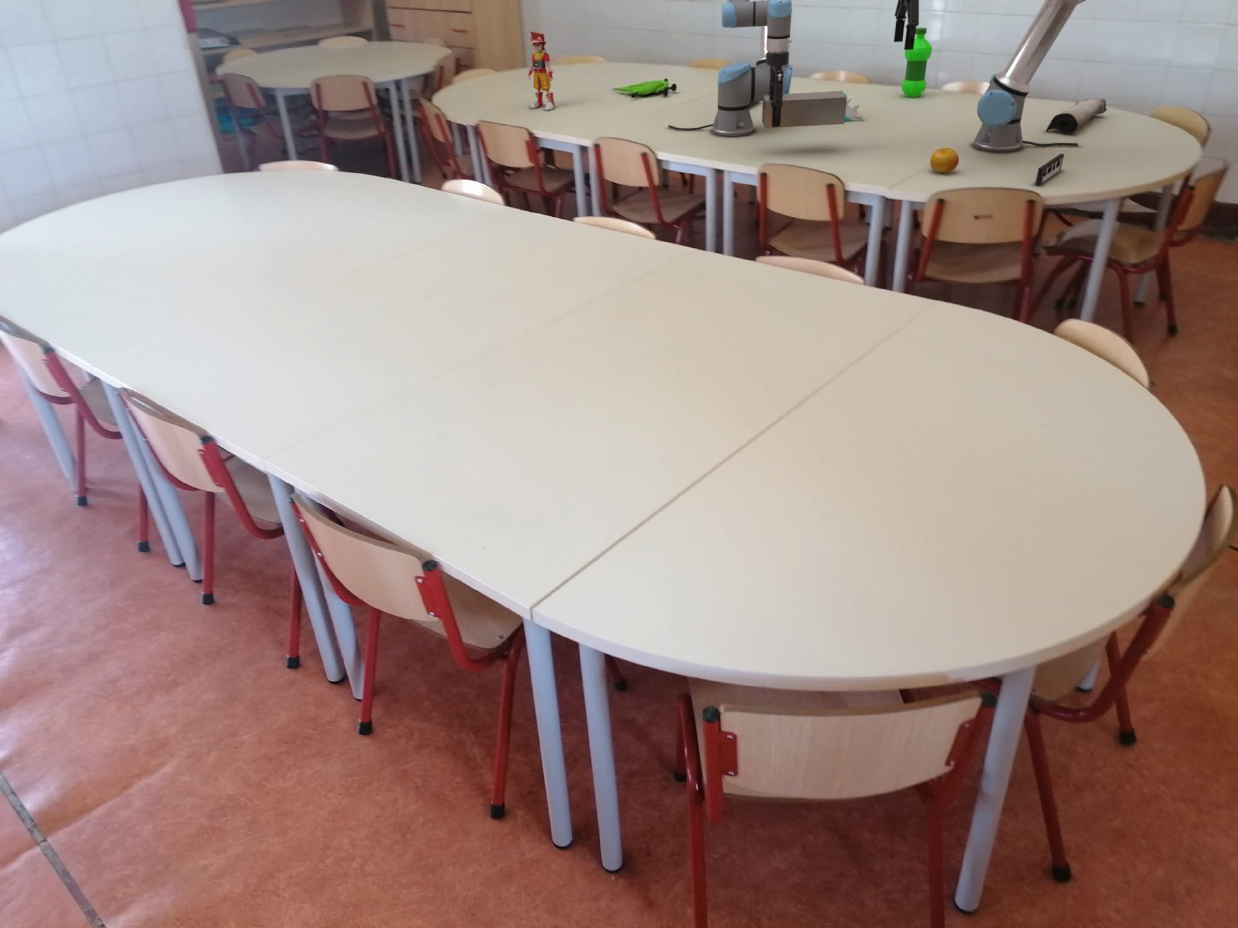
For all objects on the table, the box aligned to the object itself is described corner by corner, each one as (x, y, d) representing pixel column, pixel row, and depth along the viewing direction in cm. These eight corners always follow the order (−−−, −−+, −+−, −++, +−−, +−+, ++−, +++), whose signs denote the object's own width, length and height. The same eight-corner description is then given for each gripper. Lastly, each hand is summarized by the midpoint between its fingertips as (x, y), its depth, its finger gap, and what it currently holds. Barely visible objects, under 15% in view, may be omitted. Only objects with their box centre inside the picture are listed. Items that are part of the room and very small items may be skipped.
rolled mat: (1073, 103, 332) (1098, 85, 324) (1087, 124, 332) (1112, 107, 324) (1041, 125, 315) (1067, 107, 306) (1056, 147, 315) (1082, 129, 307)
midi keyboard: (1039, 185, 269) (1043, 168, 266) (1035, 184, 270) (1038, 168, 267) (1060, 170, 279) (1064, 154, 277) (1056, 169, 280) (1060, 153, 277)
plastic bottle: (931, 95, 365) (940, 28, 351) (913, 100, 361) (922, 32, 346) (911, 91, 372) (920, 25, 358) (894, 96, 368) (902, 29, 353)
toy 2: (686, 85, 398) (631, 84, 414) (685, 72, 395) (629, 72, 411) (651, 104, 381) (596, 103, 397) (650, 92, 378) (594, 91, 394)
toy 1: (525, 109, 381) (517, 32, 364) (534, 104, 388) (527, 28, 371) (550, 110, 377) (543, 32, 360) (559, 105, 384) (553, 28, 367)
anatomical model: (825, 90, 346) (851, 83, 346) (828, 117, 352) (853, 110, 352) (836, 99, 334) (863, 92, 333) (839, 127, 340) (865, 120, 339)
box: (764, 128, 304) (766, 101, 298) (761, 121, 310) (763, 95, 305) (844, 124, 303) (846, 97, 297) (839, 117, 309) (842, 91, 304)
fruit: (924, 163, 281) (941, 140, 278) (925, 165, 289) (941, 143, 286) (946, 178, 280) (963, 155, 277) (947, 180, 288) (963, 158, 285)
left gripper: (794, 57, 285) (789, 131, 298) (784, 44, 302) (781, 114, 315) (770, 59, 285) (767, 132, 298) (762, 45, 302) (759, 115, 315)
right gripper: (935, -25, 267) (925, 52, 279) (913, -34, 288) (905, 38, 300) (910, -23, 268) (901, 53, 280) (890, -33, 288) (882, 39, 300)
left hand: (774, 122), depth 306 cm, fingers closed on box, 8 cm apart
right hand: (903, 46), depth 290 cm, fingers open, 13 cm apart
